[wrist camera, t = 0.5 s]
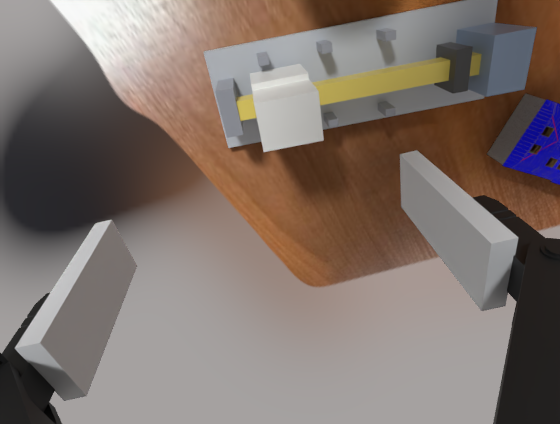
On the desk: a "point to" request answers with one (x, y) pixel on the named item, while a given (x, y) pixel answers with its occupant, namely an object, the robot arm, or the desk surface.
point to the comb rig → (380, 65)
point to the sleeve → (286, 107)
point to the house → (531, 139)
